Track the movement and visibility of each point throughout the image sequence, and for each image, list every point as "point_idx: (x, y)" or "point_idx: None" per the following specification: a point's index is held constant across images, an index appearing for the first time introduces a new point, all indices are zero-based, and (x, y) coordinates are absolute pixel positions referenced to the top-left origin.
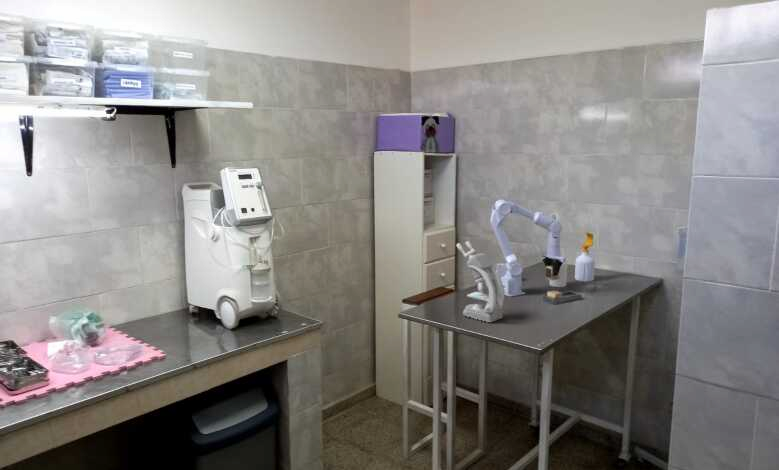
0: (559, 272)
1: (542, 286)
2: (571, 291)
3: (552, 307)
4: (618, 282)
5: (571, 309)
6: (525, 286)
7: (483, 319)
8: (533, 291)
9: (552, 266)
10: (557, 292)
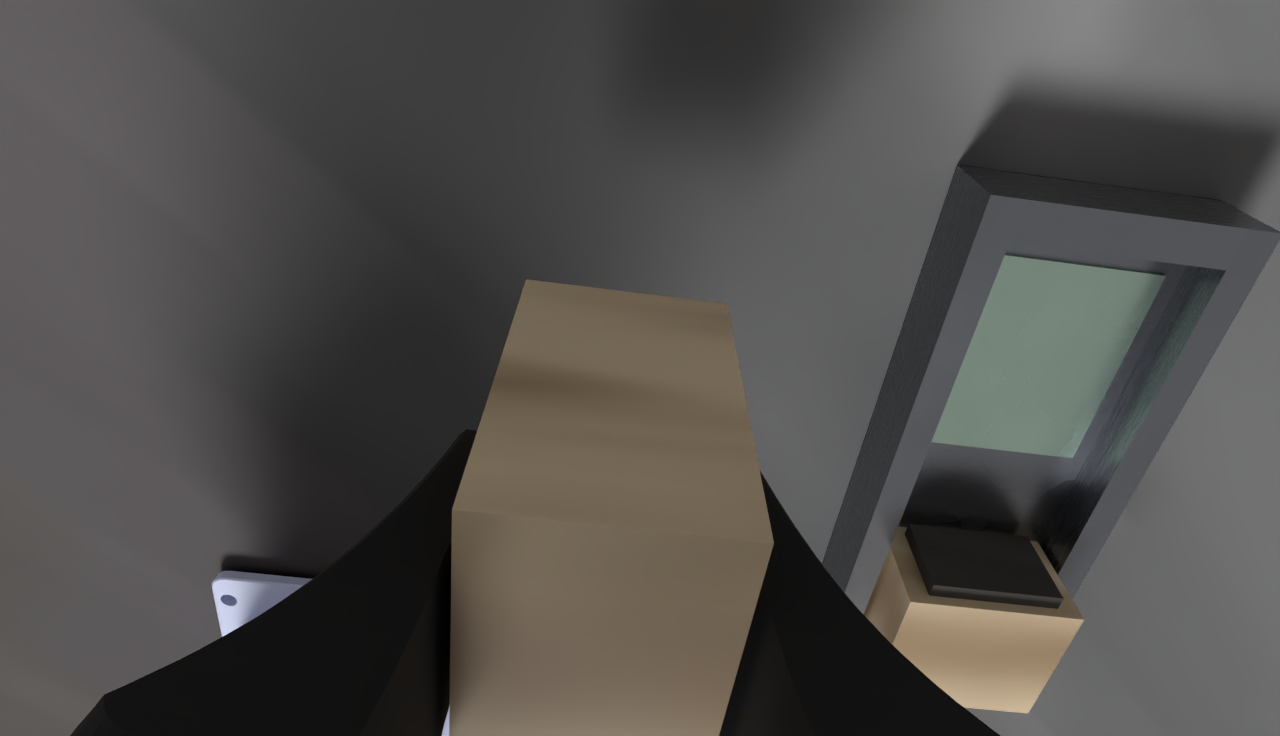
0: (742, 411)
1: (188, 83)
2: (1031, 226)
3: (1037, 707)
4: None
5: (1259, 633)
6: (75, 327)
7: None
8: (401, 436)
9: (603, 713)
10: (1005, 636)
